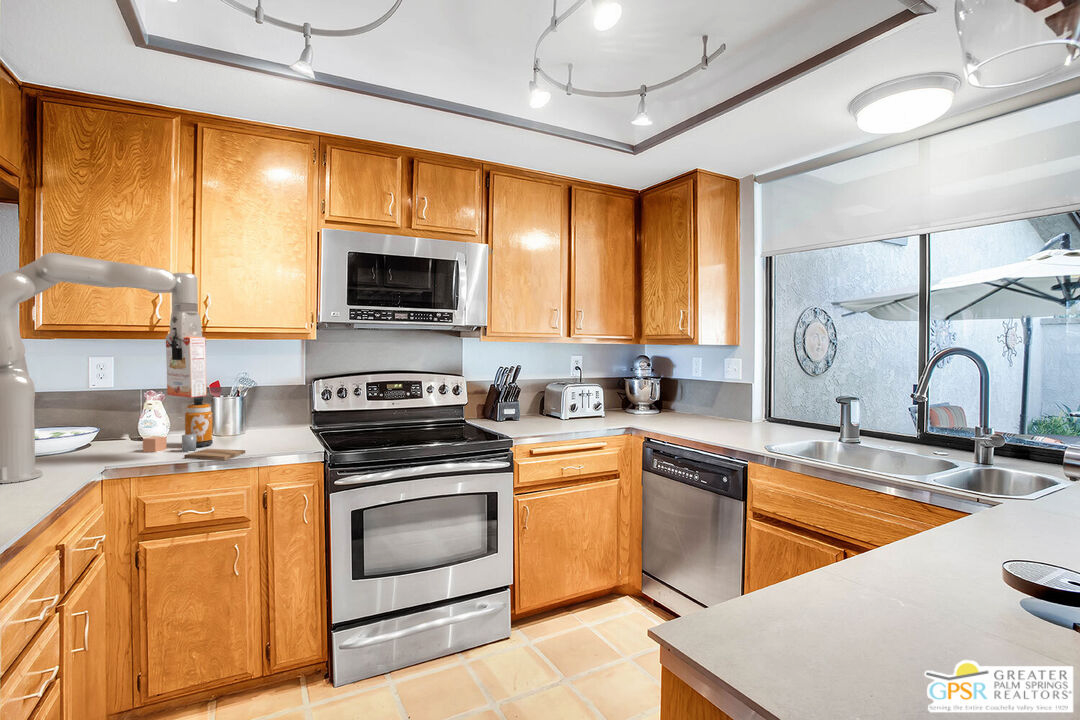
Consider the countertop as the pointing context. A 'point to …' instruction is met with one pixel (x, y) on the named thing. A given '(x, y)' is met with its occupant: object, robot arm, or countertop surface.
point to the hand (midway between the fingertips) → (185, 359)
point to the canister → (199, 422)
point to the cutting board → (215, 454)
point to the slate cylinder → (188, 442)
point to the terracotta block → (154, 444)
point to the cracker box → (187, 369)
